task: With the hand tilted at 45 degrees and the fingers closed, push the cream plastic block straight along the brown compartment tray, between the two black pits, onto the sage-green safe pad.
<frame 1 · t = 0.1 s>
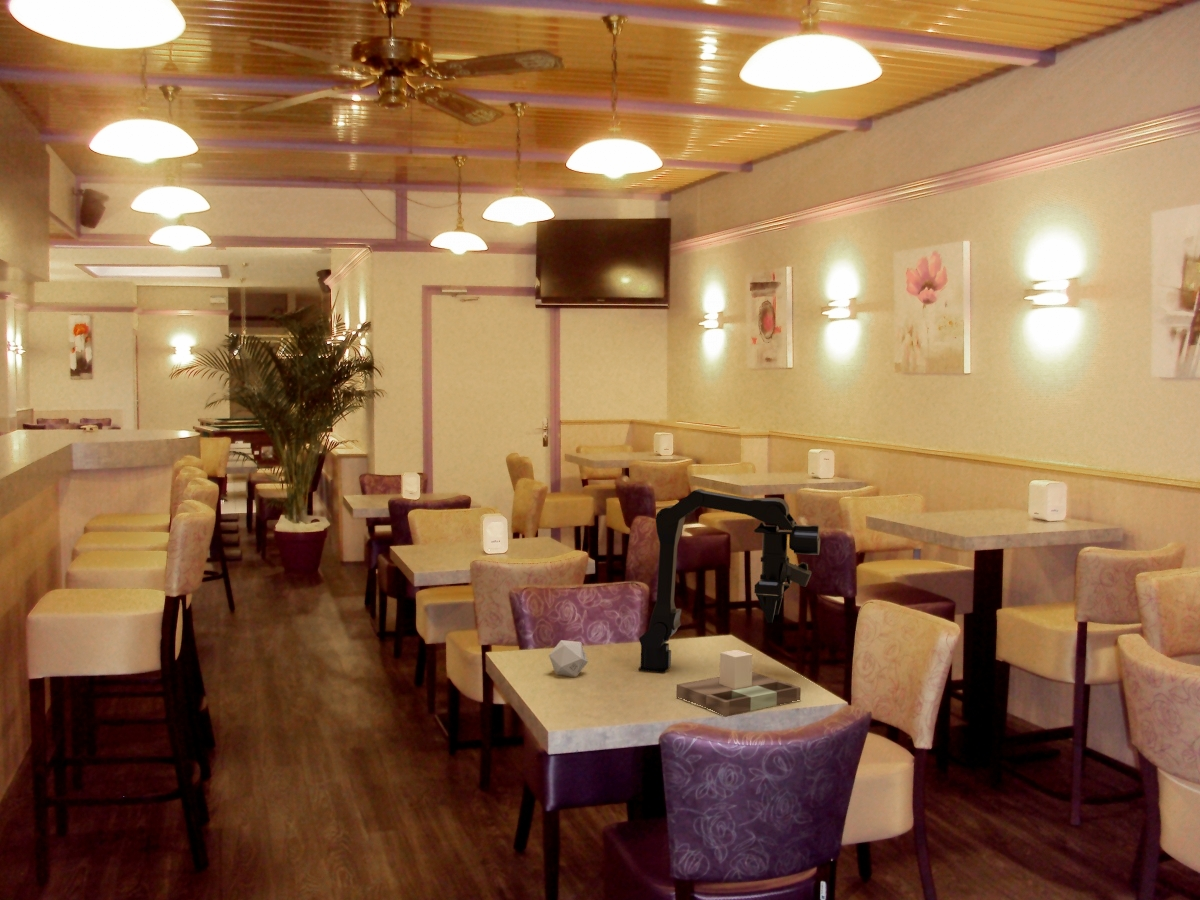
hand: (772, 618, 255), 15 cm above the table, tool pointing down, fingers open, 9 cm apart
block: (735, 684, 240), point 3 cm above the table, touching brown compartment tray
die: (568, 675, 258), on the table
brown compartment tray: (738, 699, 239), on the table
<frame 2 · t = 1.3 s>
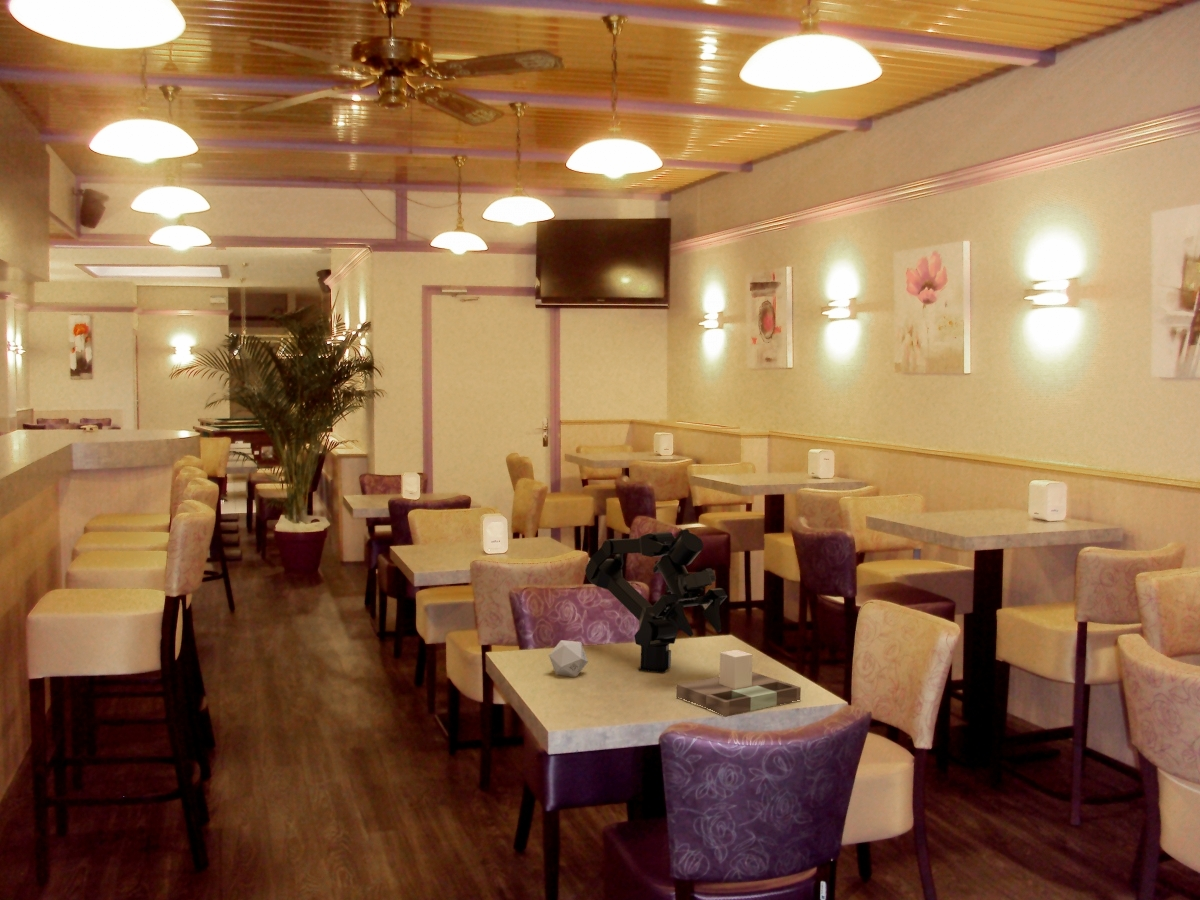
hand: (705, 633, 248), 12 cm above the table, tool tilted 45°, fingers open, 8 cm apart
nothing on the table moved.
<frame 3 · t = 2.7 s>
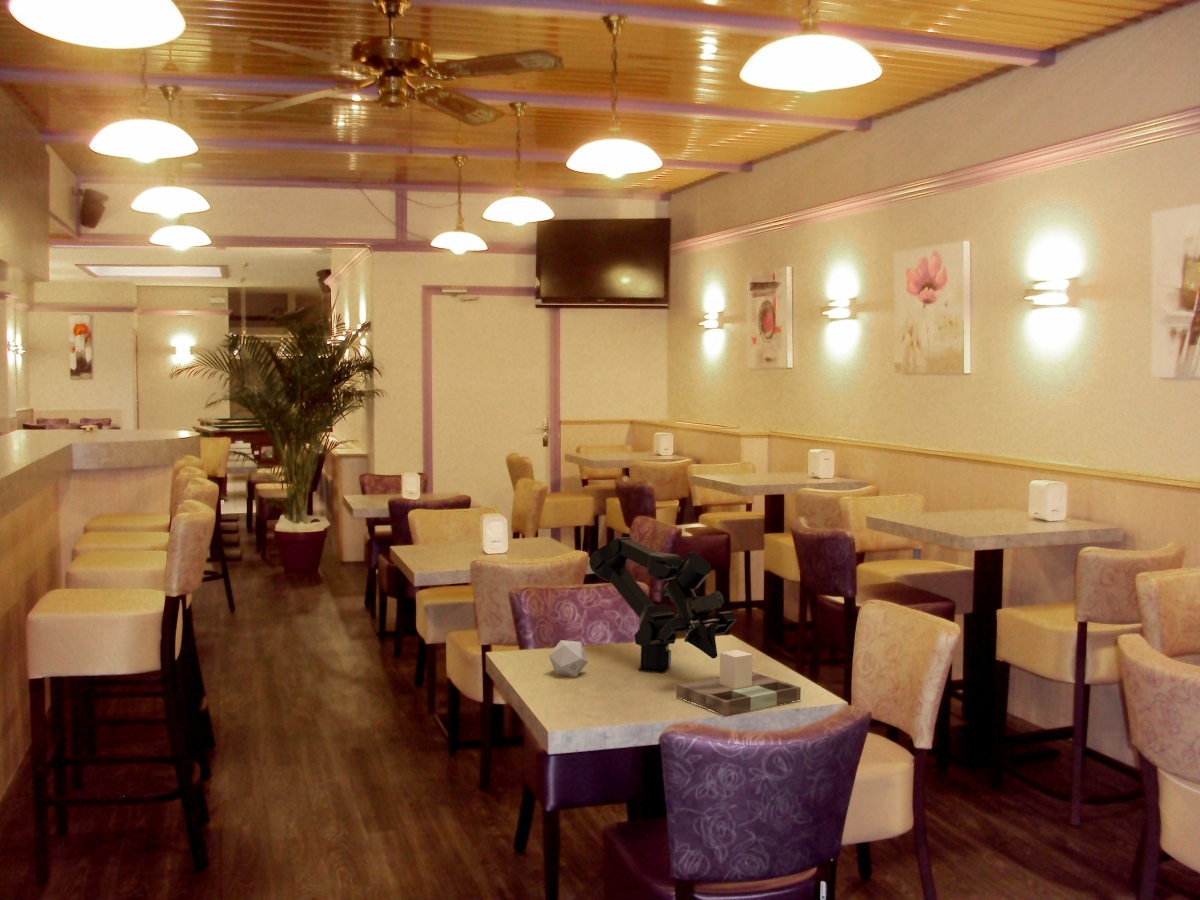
hand: (715, 657, 246), 8 cm above the table, tool tilted 45°, fingers closed
nothing on the table moved.
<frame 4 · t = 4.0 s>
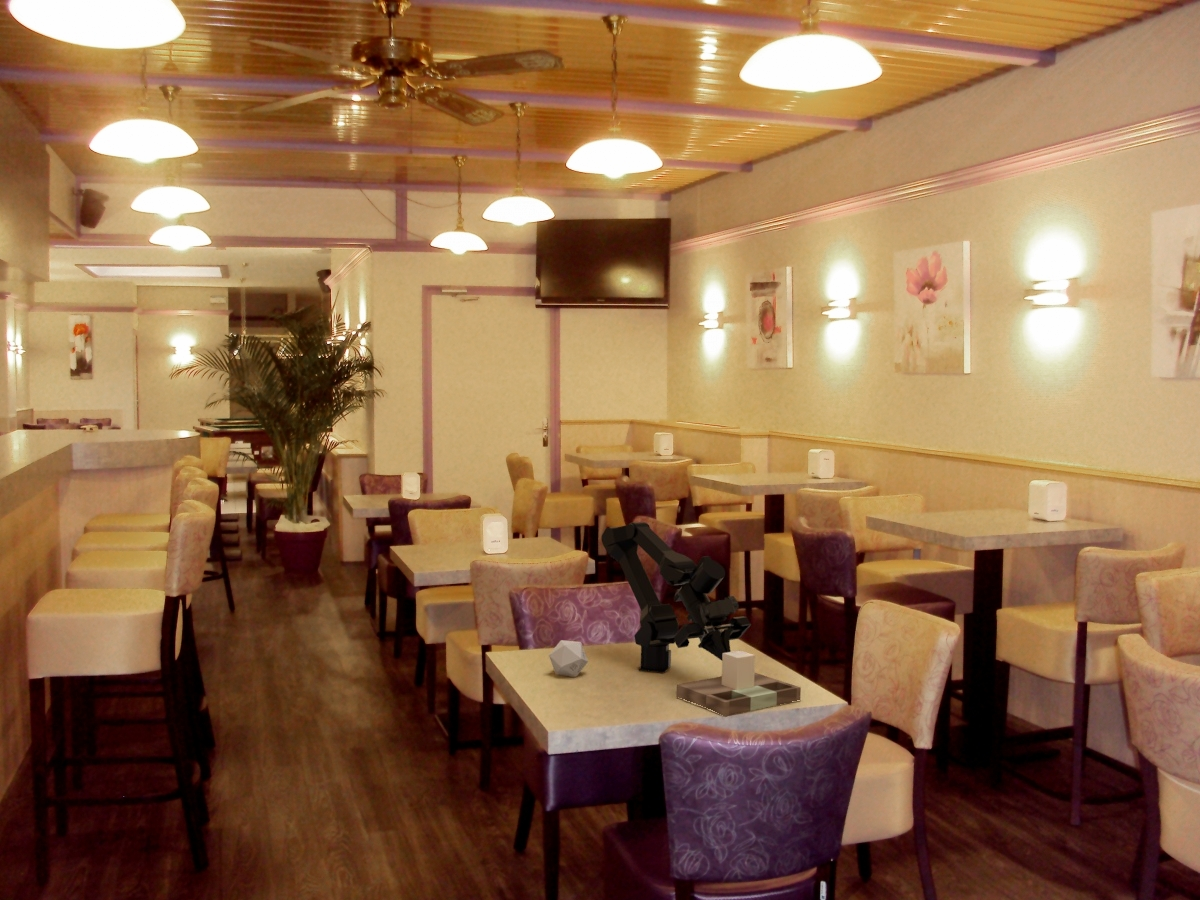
hand: (729, 663, 242), 7 cm above the table, tool tilted 45°, fingers closed, pressing on block
block: (737, 685, 239), point 3 cm above the table, touching gripper
everything else where it was.
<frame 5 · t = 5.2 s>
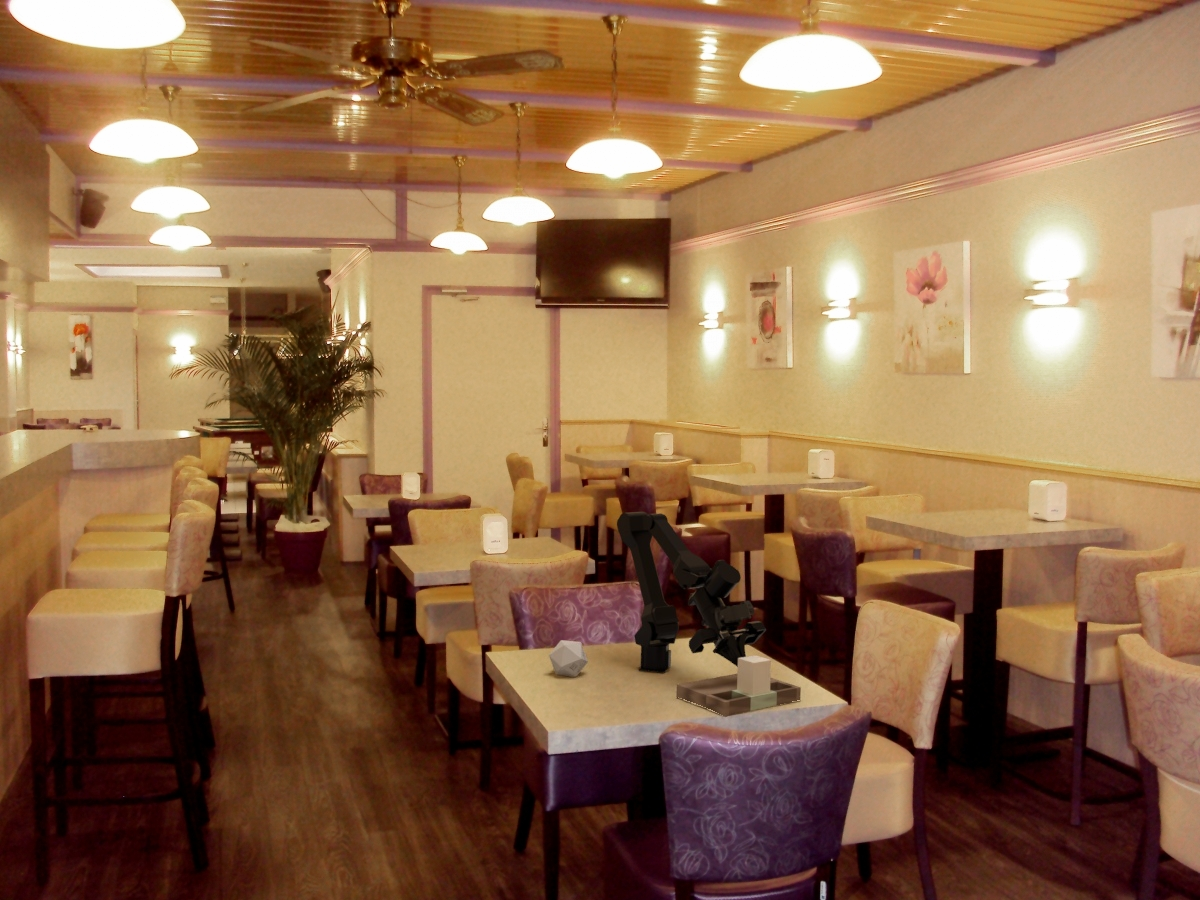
hand: (745, 669, 237), 7 cm above the table, tool tilted 45°, fingers closed, pressing on block
block: (753, 691, 235), point 3 cm above the table, touching brown compartment tray, gripper
everything else where it was.
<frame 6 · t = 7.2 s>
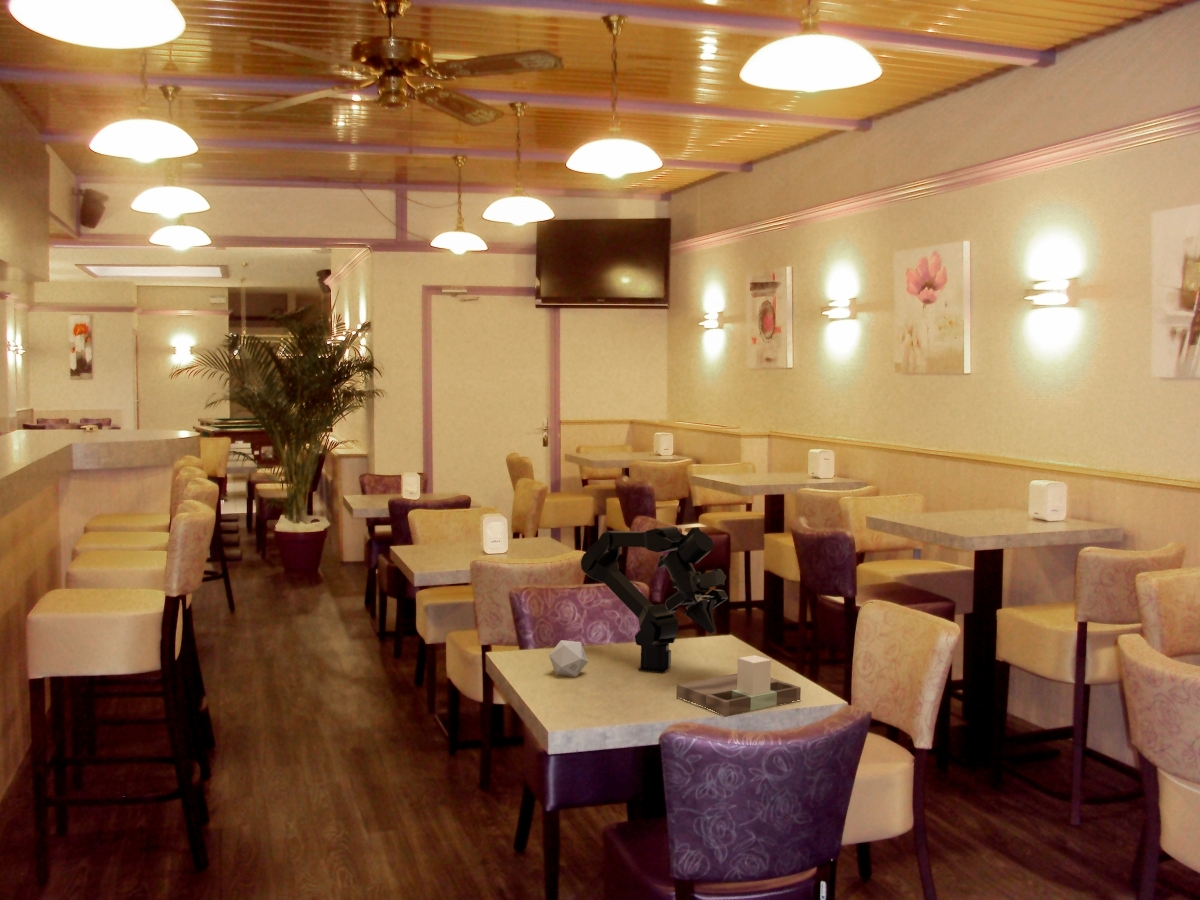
hand: (713, 632, 250), 12 cm above the table, tool tilted 40°, fingers closed
block: (753, 691, 235), point 3 cm above the table, touching brown compartment tray
everything else where it was.
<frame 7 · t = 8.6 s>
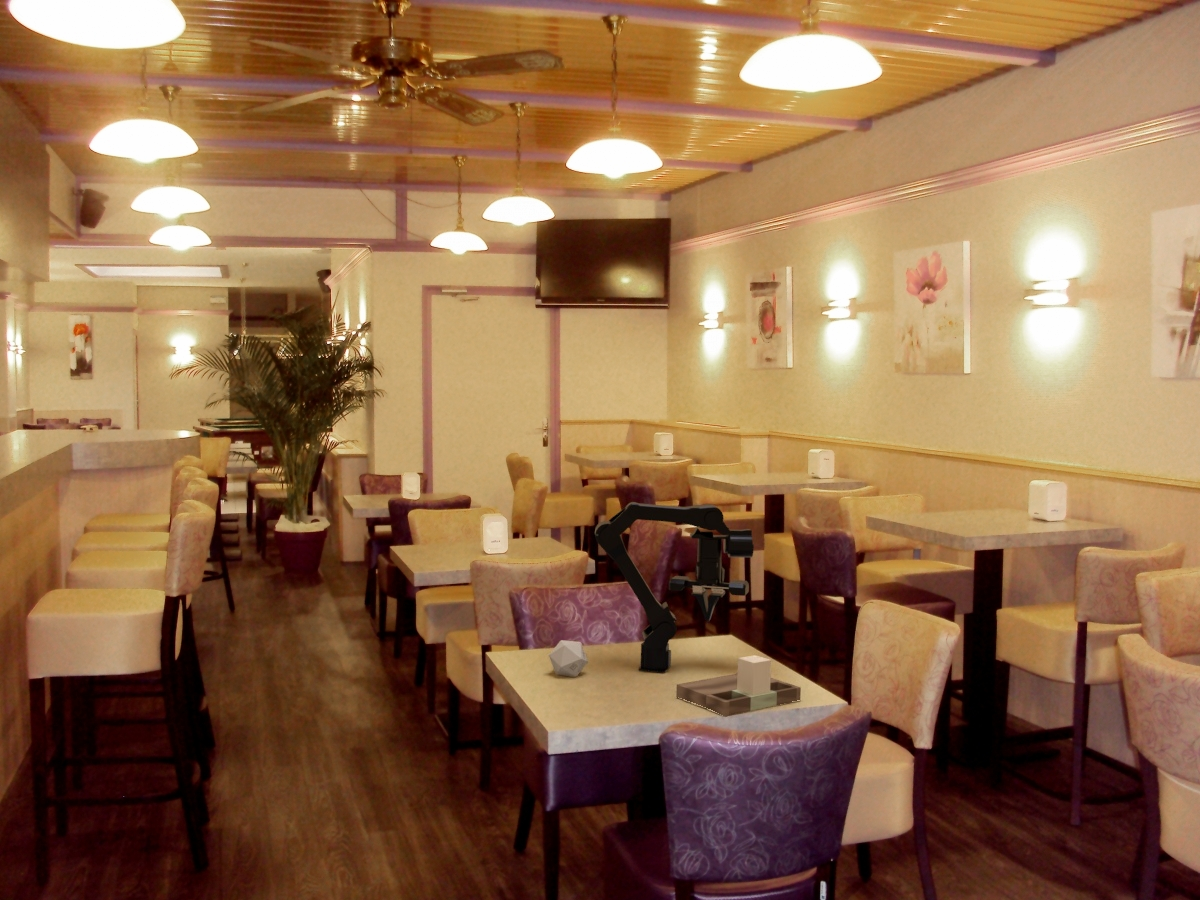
hand: (707, 620, 264), 12 cm above the table, tool pointing down, fingers closed
nothing on the table moved.
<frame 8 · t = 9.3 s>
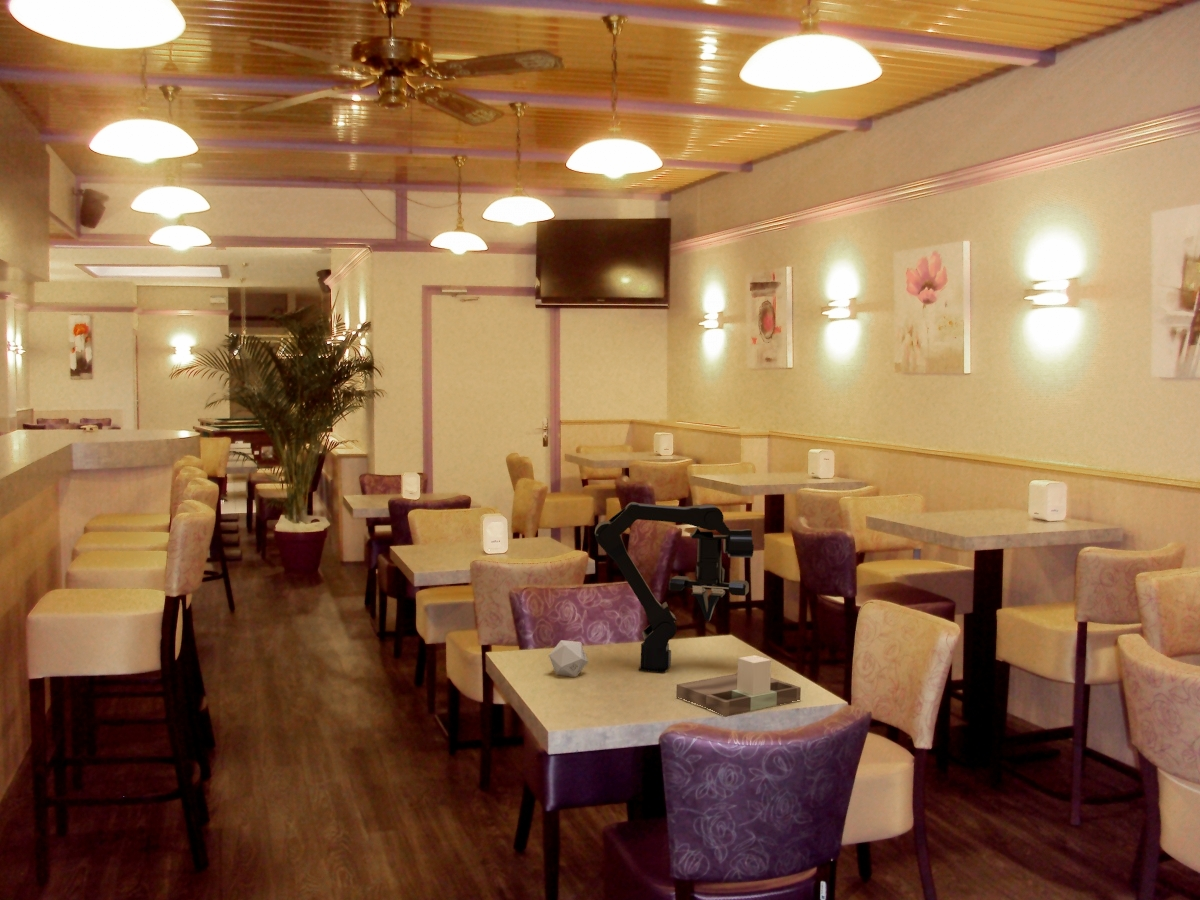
hand: (707, 620, 264), 12 cm above the table, tool pointing down, fingers closed
nothing on the table moved.
at the end: block 0.2 cm from the target spot, point 3.0 cm above the table; block tilted 0°; block moved 5.8 cm from its start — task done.
